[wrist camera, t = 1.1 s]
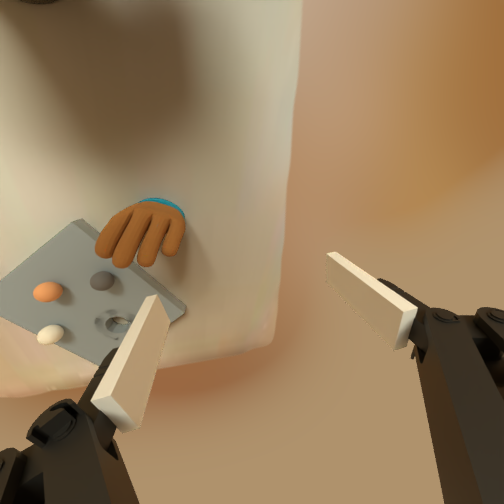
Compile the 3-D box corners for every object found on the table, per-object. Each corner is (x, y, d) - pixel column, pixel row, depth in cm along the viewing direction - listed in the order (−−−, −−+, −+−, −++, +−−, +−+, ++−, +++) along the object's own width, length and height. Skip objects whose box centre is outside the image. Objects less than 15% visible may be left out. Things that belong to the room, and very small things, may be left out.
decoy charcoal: (92, 275, 34) (80, 285, 31) (106, 264, 34) (95, 273, 31) (109, 287, 36) (98, 298, 33) (122, 276, 35) (113, 287, 32)
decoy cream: (42, 327, 37) (26, 342, 33) (55, 317, 36) (40, 331, 33) (60, 336, 38) (46, 351, 35) (72, 327, 38) (59, 341, 35)
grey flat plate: (-11, 294, 35) (-27, 302, 32) (81, 218, 32) (71, 222, 30) (110, 359, 46) (105, 369, 43) (186, 305, 43) (184, 313, 41)
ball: (39, 285, 33) (21, 297, 30) (53, 274, 33) (36, 285, 30) (59, 297, 35) (43, 310, 32) (72, 287, 34) (58, 298, 31)
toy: (117, 224, 34) (52, 259, 20) (121, 186, 32) (51, 198, 18) (185, 241, 37) (168, 280, 24) (192, 208, 35) (178, 230, 22)
